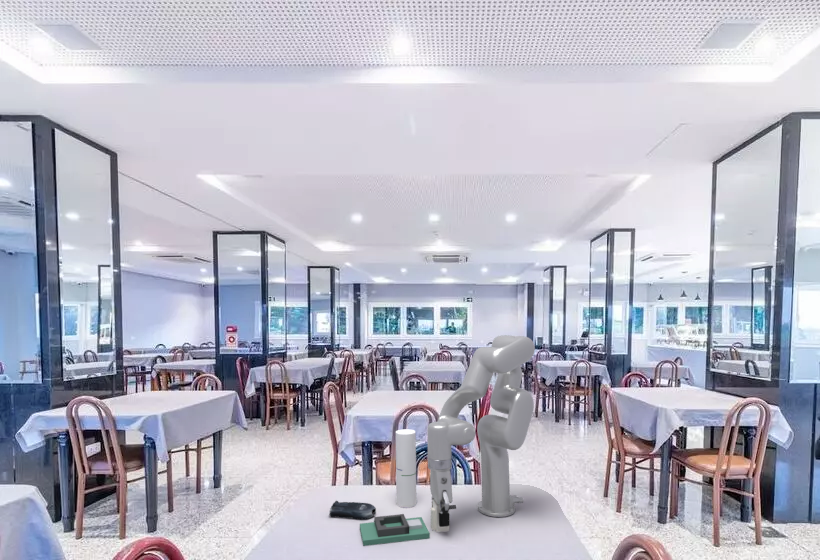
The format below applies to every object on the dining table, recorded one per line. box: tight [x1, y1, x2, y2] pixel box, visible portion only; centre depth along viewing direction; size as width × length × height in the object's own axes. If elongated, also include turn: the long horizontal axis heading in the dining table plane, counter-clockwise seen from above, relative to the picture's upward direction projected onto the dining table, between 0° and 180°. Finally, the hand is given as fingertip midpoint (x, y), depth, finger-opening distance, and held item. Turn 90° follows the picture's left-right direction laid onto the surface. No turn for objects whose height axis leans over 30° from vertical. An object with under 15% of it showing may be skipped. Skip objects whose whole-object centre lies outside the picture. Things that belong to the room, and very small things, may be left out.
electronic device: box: [328, 500, 377, 521], centre depth 153 cm, size 9×6×15 cm
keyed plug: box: [430, 498, 457, 533], centre depth 142 cm, size 8×5×8 cm, turn 102°
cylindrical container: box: [395, 428, 417, 509], centre depth 161 cm, size 7×7×25 cm
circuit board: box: [359, 513, 431, 547], centre depth 139 cm, size 20×11×4 cm, turn 102°
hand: (440, 519), depth 142 cm, fingers open, 8 cm apart
